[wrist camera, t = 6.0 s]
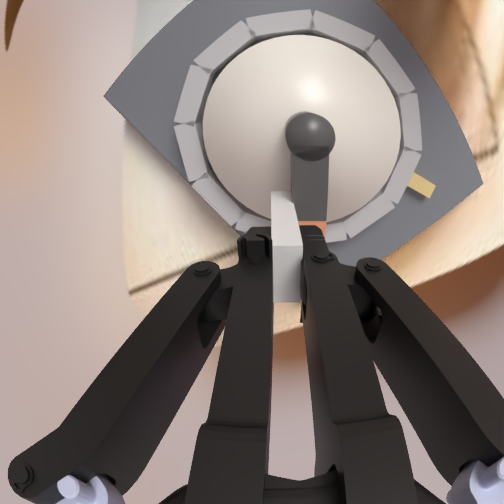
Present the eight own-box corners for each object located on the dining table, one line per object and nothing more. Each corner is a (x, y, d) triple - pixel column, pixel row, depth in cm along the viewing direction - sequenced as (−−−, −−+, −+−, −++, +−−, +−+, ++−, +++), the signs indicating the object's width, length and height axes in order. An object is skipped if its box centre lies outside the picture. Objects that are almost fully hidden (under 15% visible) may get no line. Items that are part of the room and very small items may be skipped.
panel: (109, 100, 18) (89, 103, 15) (296, -56, 10) (298, -74, 8) (302, 297, 26) (303, 319, 23) (473, 178, 18) (492, 189, 16)
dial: (204, 47, 14) (179, 31, 10) (388, 50, 13) (422, 39, 9) (218, 213, 20) (201, 248, 16) (381, 214, 19) (406, 248, 15)
